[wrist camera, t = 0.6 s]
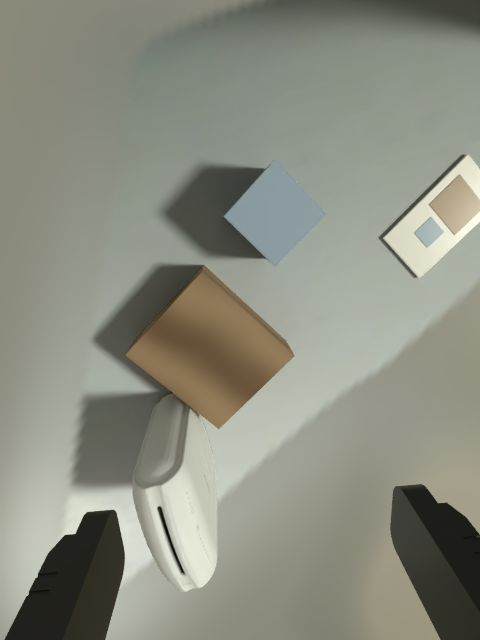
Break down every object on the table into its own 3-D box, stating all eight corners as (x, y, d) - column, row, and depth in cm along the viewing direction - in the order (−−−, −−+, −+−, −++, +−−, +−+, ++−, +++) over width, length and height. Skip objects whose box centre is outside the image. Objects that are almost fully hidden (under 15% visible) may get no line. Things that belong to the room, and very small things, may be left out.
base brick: (203, 264, 30) (202, 271, 27) (285, 339, 33) (294, 356, 29) (135, 338, 32) (124, 355, 28) (218, 404, 34) (218, 428, 30)
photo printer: (221, 475, 36) (224, 602, 24) (180, 485, 36) (162, 617, 24) (195, 386, 33) (183, 480, 21) (150, 396, 33) (113, 497, 21)
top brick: (265, 168, 28) (275, 159, 24) (308, 214, 30) (326, 213, 25) (222, 216, 29) (223, 216, 24) (265, 258, 30) (275, 266, 26)
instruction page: (465, 154, 29) (468, 154, 29) (500, 199, 30) (503, 199, 30) (382, 237, 30) (383, 238, 30) (417, 277, 32) (420, 278, 31)
